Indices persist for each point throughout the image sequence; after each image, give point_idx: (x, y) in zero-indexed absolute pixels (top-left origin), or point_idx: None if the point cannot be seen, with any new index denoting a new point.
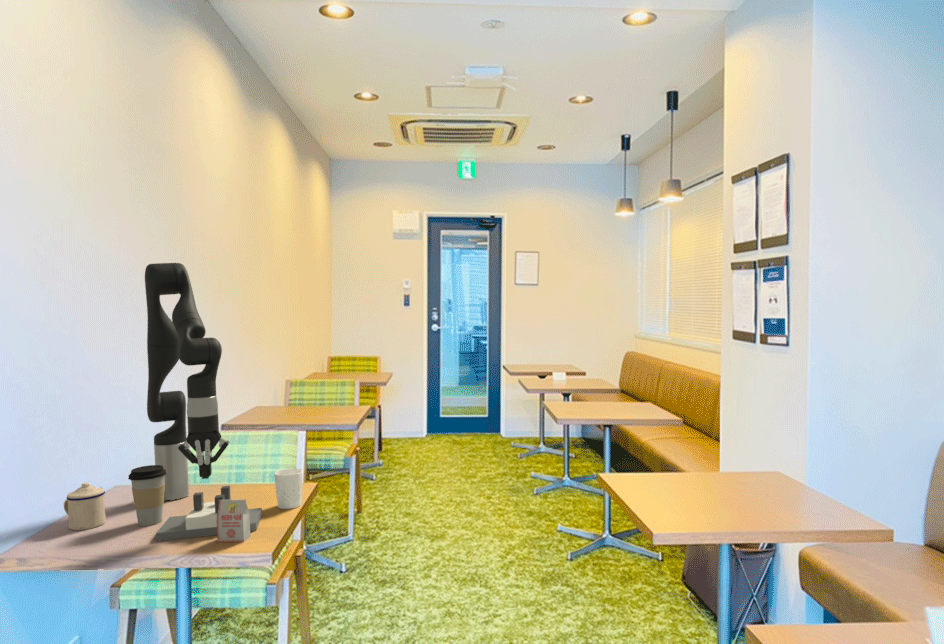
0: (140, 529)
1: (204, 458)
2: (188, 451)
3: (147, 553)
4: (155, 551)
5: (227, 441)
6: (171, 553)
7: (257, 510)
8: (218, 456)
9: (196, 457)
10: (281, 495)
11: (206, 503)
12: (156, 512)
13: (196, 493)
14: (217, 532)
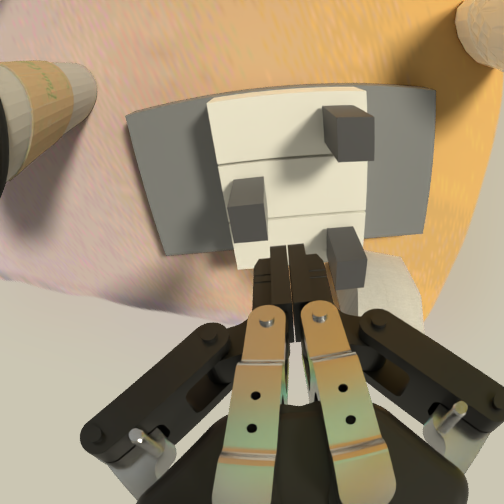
0: (76, 150)
1: (284, 333)
2: (178, 430)
3: (193, 304)
4: (205, 298)
5: (493, 430)
6: (246, 313)
7: (426, 115)
8: (397, 376)
9: (225, 359)
10: (496, 63)
11: (252, 111)
12: (77, 116)
13: (238, 219)
14: (336, 291)
